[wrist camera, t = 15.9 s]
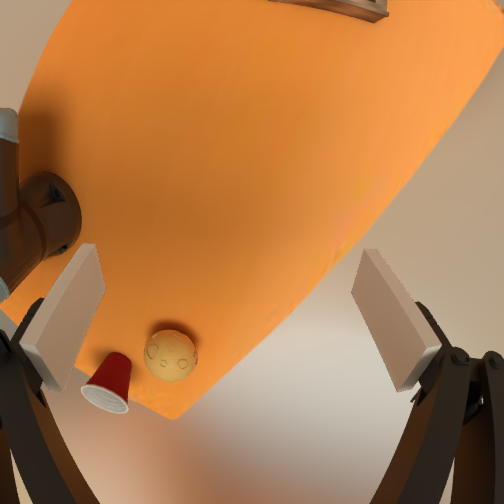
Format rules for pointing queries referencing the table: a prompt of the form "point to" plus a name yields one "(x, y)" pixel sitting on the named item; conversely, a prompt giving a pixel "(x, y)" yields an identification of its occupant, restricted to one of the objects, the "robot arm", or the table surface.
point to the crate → (348, 7)
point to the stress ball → (170, 355)
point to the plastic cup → (110, 384)
